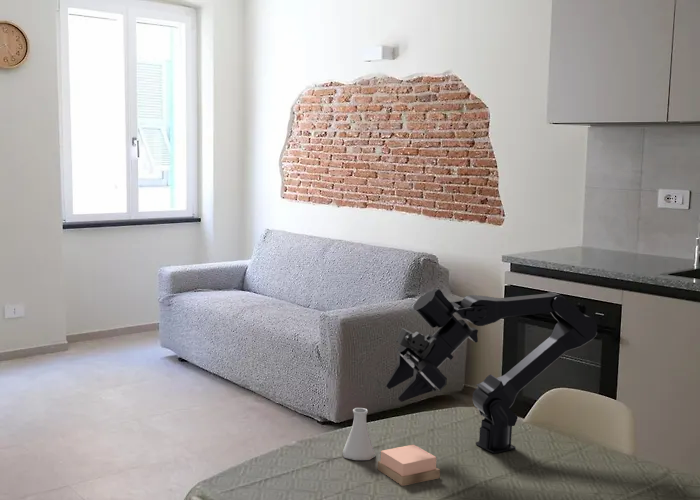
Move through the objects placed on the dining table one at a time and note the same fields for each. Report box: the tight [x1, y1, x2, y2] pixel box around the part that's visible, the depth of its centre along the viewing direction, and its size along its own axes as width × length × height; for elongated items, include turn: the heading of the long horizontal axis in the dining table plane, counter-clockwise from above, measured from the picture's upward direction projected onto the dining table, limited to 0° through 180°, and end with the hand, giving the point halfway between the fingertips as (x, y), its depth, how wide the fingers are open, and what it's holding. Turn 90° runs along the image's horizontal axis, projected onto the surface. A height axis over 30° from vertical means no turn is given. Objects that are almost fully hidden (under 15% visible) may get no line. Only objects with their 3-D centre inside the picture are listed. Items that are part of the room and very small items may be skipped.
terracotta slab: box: [380, 443, 437, 476], centre depth 163 cm, size 8×8×2 cm
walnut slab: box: [377, 460, 441, 487], centre depth 163 cm, size 9×9×2 cm
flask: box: [341, 407, 376, 461], centre depth 172 cm, size 7×7×10 cm
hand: (393, 393), depth 173 cm, fingers open, 9 cm apart
